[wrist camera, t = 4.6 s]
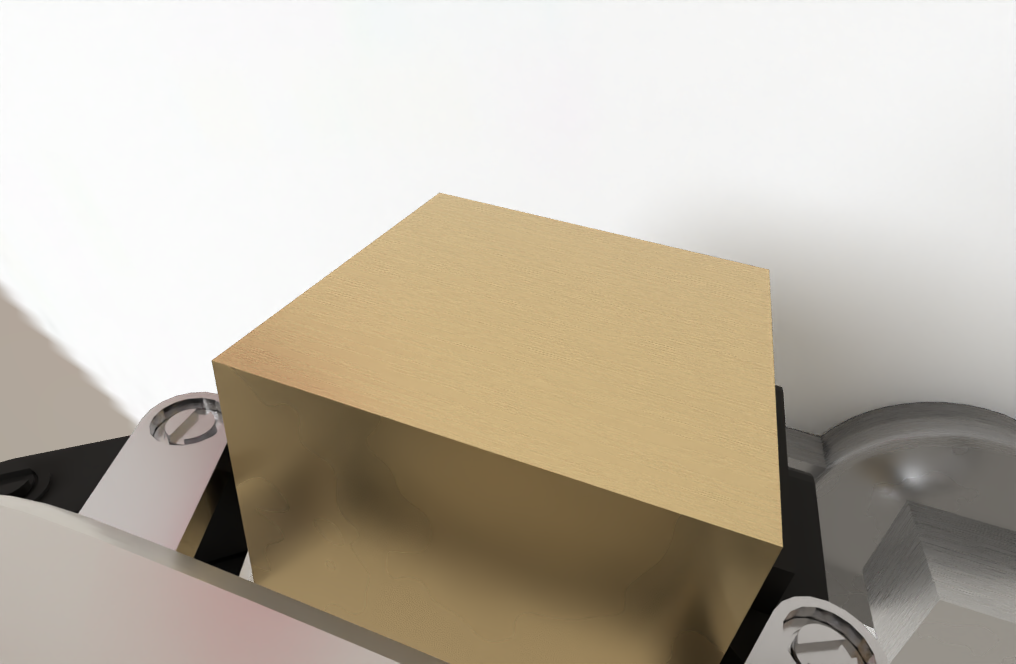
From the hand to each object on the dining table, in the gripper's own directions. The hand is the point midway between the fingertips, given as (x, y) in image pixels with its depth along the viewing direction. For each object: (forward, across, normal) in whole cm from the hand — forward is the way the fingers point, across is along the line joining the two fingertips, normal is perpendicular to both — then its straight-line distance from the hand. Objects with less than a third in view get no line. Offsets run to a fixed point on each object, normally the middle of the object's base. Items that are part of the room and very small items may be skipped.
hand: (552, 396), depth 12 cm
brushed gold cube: (+1, 0, 0) cm, 1 cm away
